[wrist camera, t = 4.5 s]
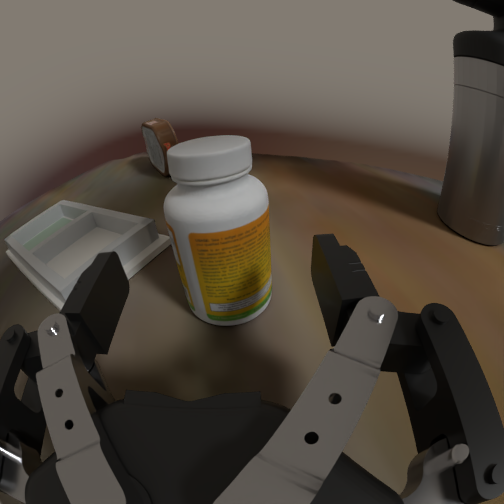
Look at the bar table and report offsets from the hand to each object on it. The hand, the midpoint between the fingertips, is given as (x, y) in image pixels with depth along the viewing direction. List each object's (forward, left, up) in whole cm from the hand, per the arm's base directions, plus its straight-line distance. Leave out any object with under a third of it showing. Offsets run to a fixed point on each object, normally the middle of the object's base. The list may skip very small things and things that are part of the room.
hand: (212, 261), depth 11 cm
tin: (-24, -27, -6) cm, 37 cm away
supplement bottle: (-4, -2, -6) cm, 7 cm away
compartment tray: (-2, -21, -6) cm, 22 cm away
